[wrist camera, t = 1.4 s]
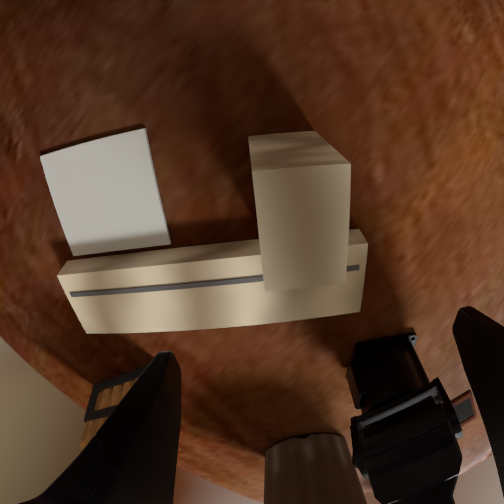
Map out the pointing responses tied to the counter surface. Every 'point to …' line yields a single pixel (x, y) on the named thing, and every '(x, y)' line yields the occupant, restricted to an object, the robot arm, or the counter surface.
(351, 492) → the plant pot
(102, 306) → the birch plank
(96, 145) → the grey end pad
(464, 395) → the smartphone
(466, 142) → the counter surface
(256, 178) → the maple block
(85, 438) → the ammunition clip
